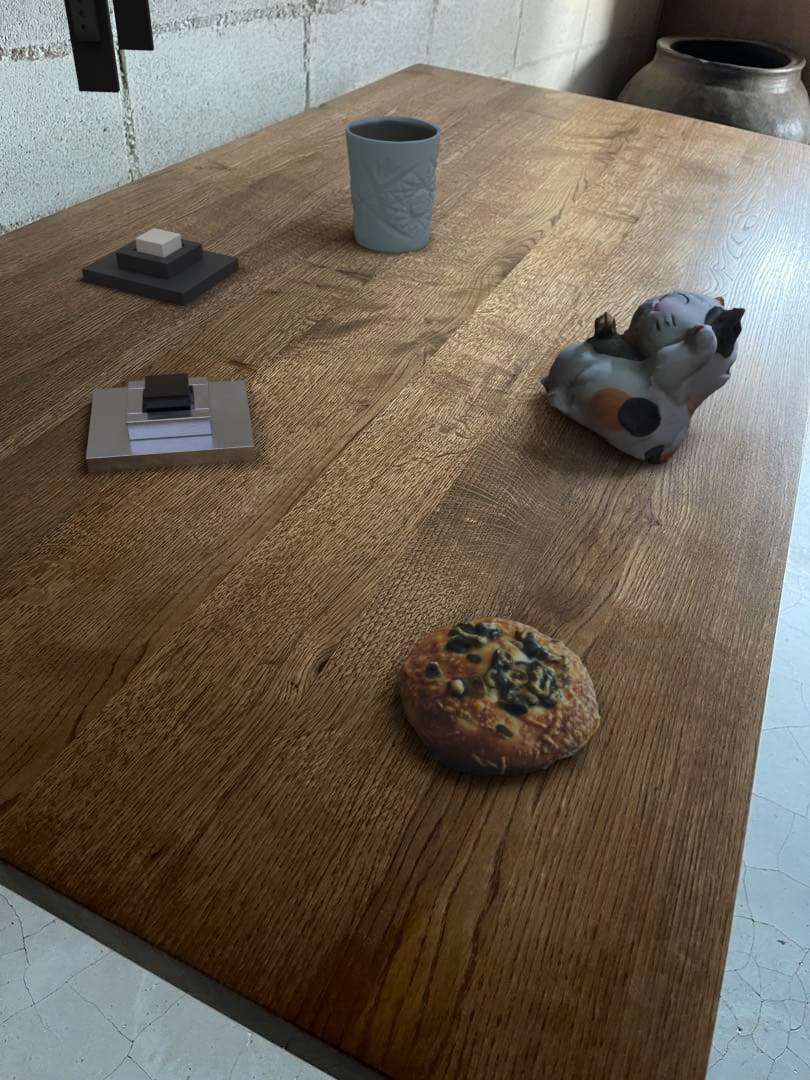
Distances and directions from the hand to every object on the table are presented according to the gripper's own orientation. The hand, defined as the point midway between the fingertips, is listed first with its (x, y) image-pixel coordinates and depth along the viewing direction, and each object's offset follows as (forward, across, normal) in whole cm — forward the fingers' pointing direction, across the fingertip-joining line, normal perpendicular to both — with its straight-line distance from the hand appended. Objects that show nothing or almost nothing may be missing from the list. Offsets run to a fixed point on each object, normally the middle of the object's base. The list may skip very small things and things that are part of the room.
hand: (119, 69), depth 70 cm
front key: (+20, -16, -4) cm, 26 cm away
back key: (+20, +13, +2) cm, 24 cm away
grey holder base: (+22, -16, -4) cm, 28 cm away
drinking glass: (+22, +25, -22) cm, 40 cm away
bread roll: (+22, -44, -26) cm, 56 cm away
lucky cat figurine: (+22, -14, -40) cm, 48 cm away
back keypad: (+22, +13, +2) cm, 26 cm away
